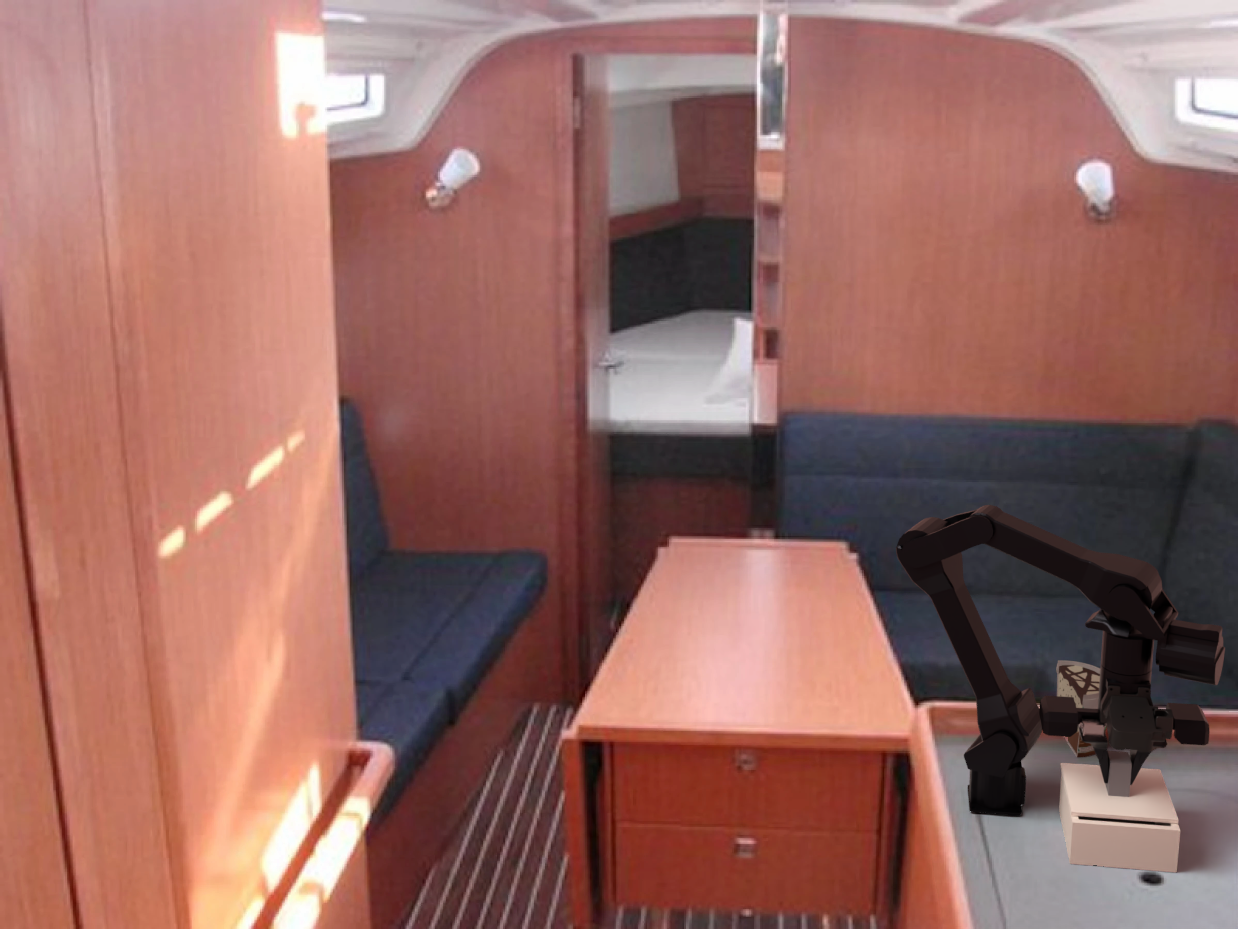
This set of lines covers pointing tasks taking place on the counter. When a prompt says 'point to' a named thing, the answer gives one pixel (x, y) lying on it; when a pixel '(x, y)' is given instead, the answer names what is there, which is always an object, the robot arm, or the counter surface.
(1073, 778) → the lid
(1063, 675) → the food container
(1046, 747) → the counter surface
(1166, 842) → the carton
